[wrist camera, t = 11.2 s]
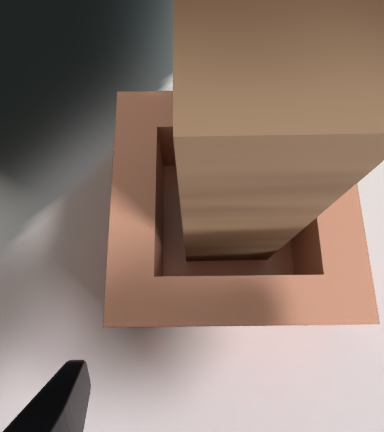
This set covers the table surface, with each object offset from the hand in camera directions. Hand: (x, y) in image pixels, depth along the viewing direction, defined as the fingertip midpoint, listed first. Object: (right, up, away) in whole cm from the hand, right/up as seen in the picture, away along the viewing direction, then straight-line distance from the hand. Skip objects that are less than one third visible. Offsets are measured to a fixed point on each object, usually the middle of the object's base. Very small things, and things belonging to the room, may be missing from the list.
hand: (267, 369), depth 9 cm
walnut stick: (0, +3, +9) cm, 10 cm away
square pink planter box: (0, +3, +10) cm, 10 cm away
